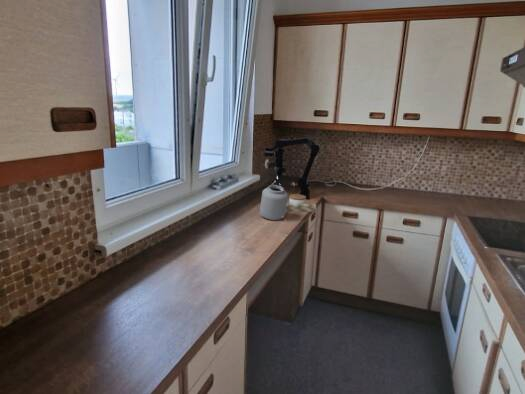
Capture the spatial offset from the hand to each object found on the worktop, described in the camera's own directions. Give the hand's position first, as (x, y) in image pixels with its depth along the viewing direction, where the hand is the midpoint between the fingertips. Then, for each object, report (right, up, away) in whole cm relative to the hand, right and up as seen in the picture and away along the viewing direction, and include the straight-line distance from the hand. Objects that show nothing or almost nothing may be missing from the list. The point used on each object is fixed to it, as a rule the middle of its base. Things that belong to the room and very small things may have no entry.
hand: (278, 179), depth 253 cm
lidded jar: (+11, -20, -26) cm, 34 cm away
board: (+12, -21, -33) cm, 41 cm away
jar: (-5, -25, -49) cm, 55 cm away
